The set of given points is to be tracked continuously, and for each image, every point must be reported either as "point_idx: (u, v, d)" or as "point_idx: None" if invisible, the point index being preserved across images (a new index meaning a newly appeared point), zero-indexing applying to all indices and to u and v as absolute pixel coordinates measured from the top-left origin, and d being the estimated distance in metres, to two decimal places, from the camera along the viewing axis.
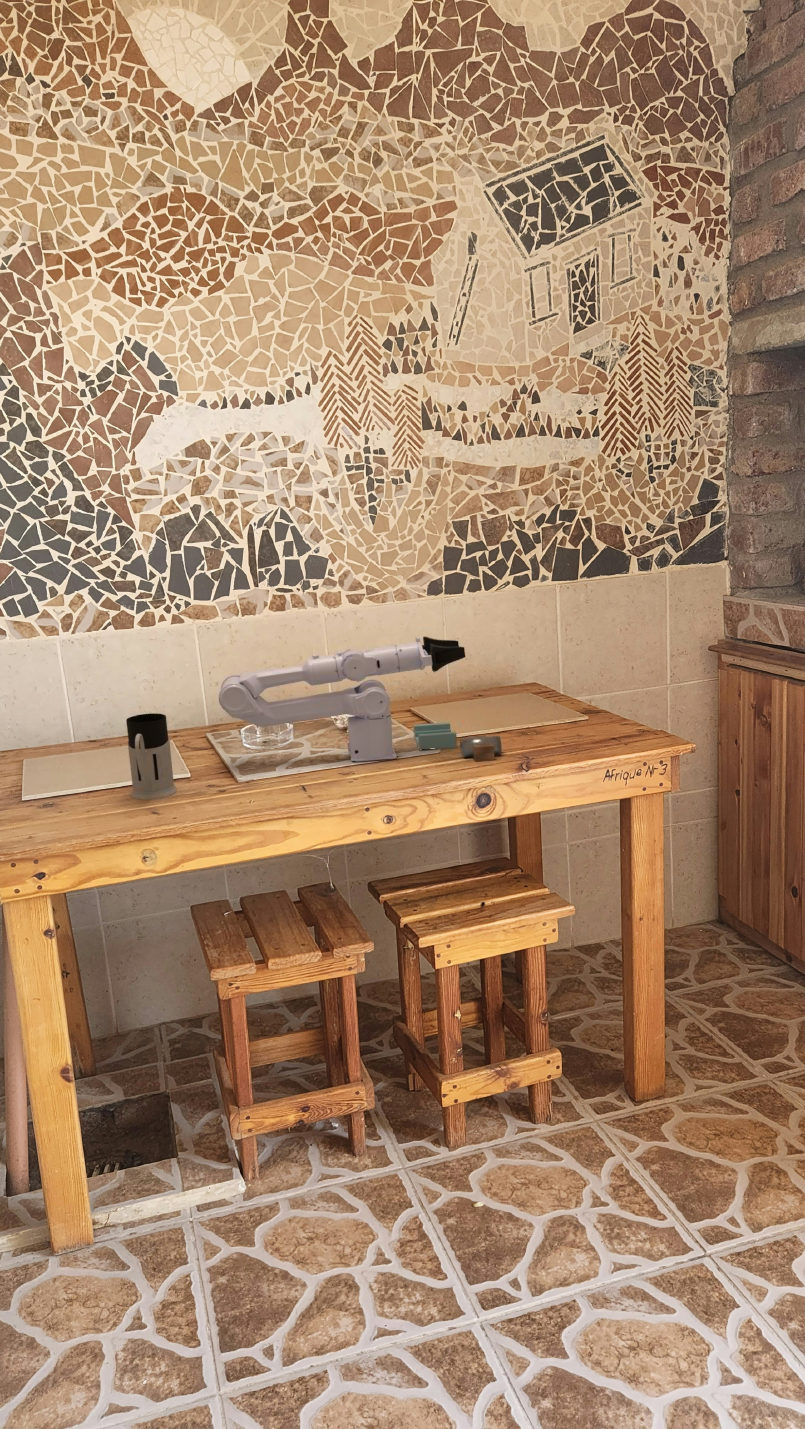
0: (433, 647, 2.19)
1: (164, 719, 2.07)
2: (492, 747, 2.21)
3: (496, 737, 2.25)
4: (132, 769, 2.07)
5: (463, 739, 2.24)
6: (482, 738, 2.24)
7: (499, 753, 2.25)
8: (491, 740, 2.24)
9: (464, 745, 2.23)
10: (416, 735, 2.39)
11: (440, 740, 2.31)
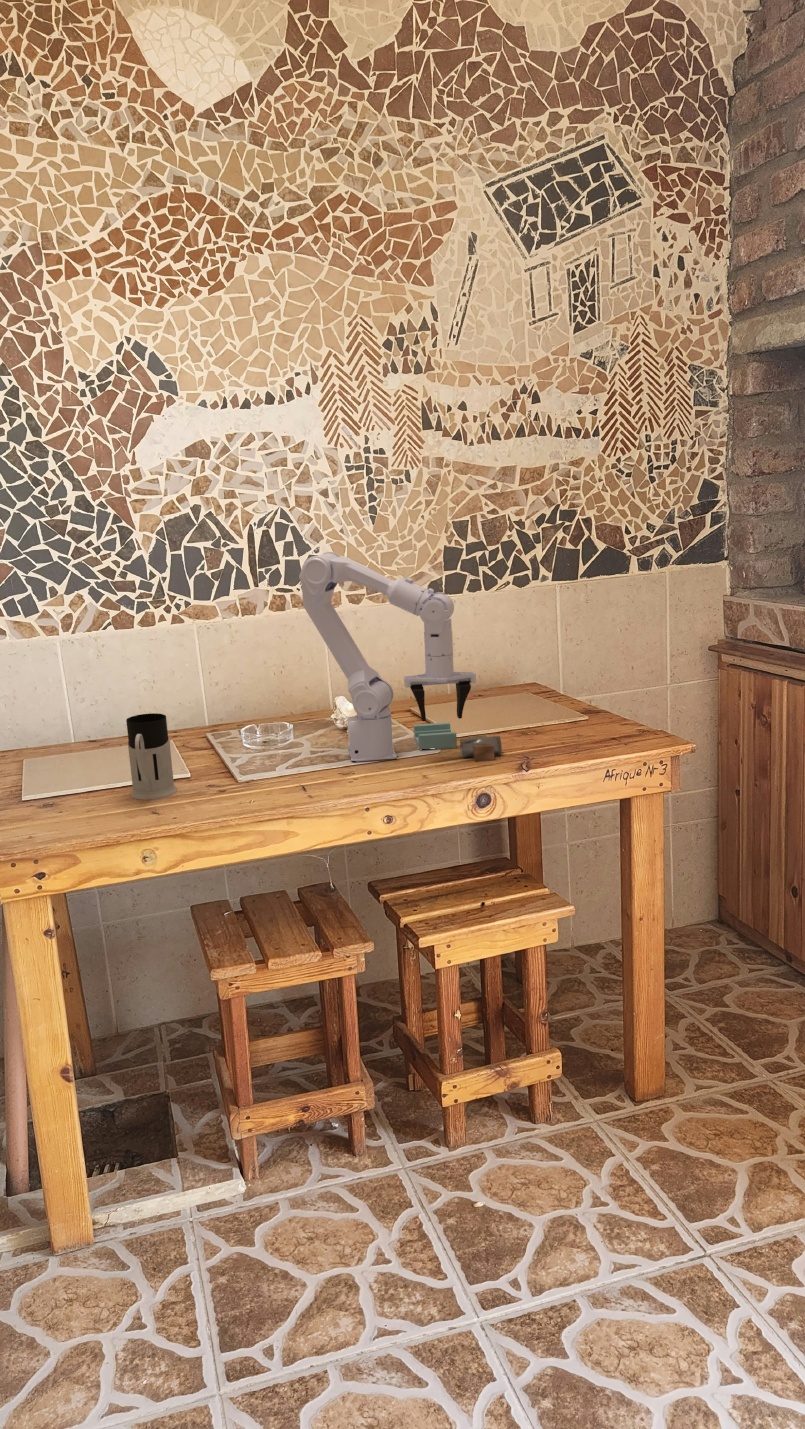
0: (413, 692, 2.19)
1: (164, 719, 2.07)
2: (492, 747, 2.21)
3: (496, 737, 2.25)
4: (132, 769, 2.07)
5: (463, 739, 2.24)
6: (482, 738, 2.24)
7: (499, 753, 2.25)
8: (491, 741, 2.24)
9: (464, 745, 2.23)
10: (416, 735, 2.39)
11: (440, 740, 2.31)
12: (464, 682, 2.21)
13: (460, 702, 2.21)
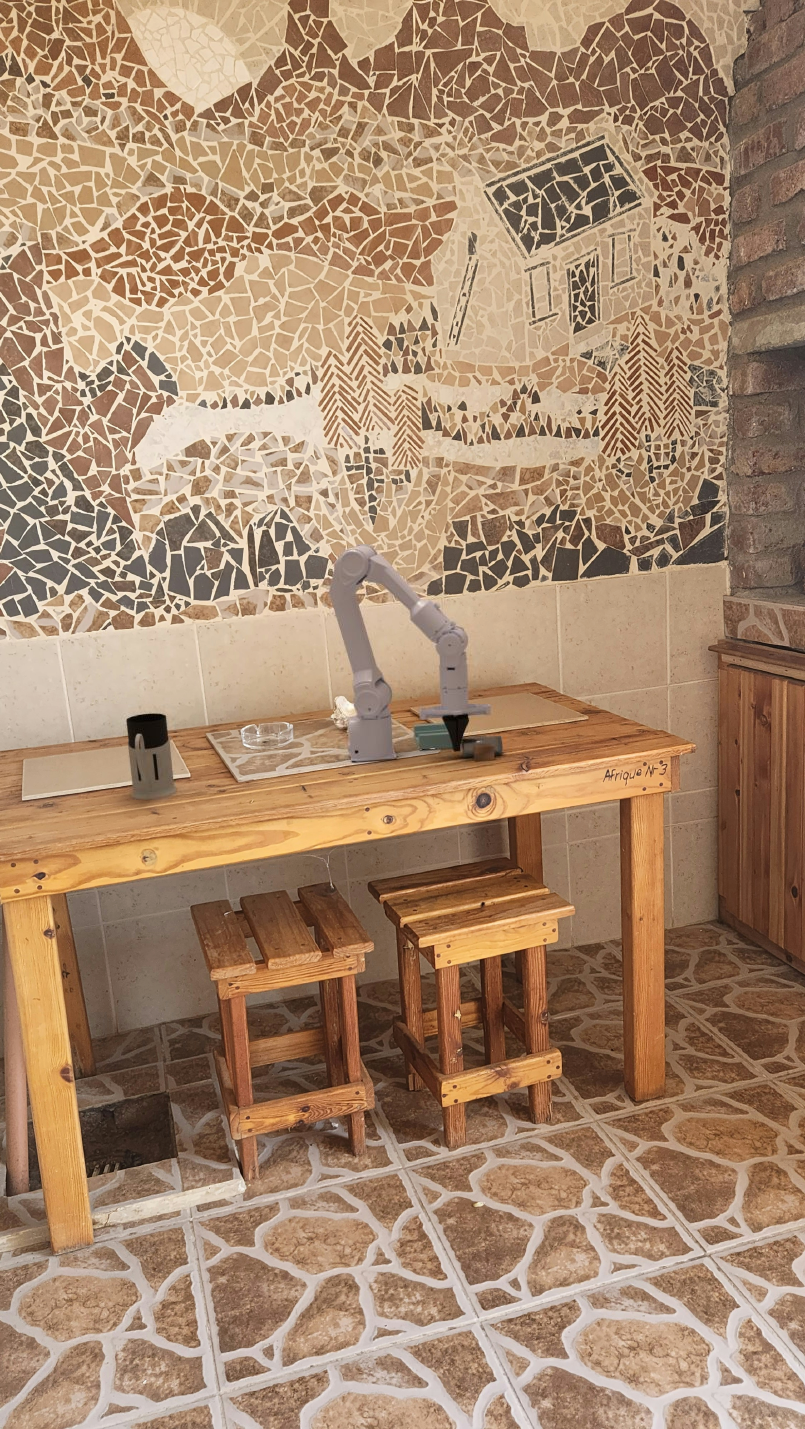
0: (445, 723, 2.21)
1: (164, 719, 2.07)
2: (492, 747, 2.21)
3: (497, 738, 2.24)
4: (132, 769, 2.07)
5: (464, 739, 2.24)
6: (483, 739, 2.24)
7: (500, 753, 2.25)
8: (492, 741, 2.24)
9: (465, 746, 2.23)
10: (416, 735, 2.39)
11: (440, 740, 2.31)
12: (479, 714, 2.23)
13: (458, 735, 2.23)
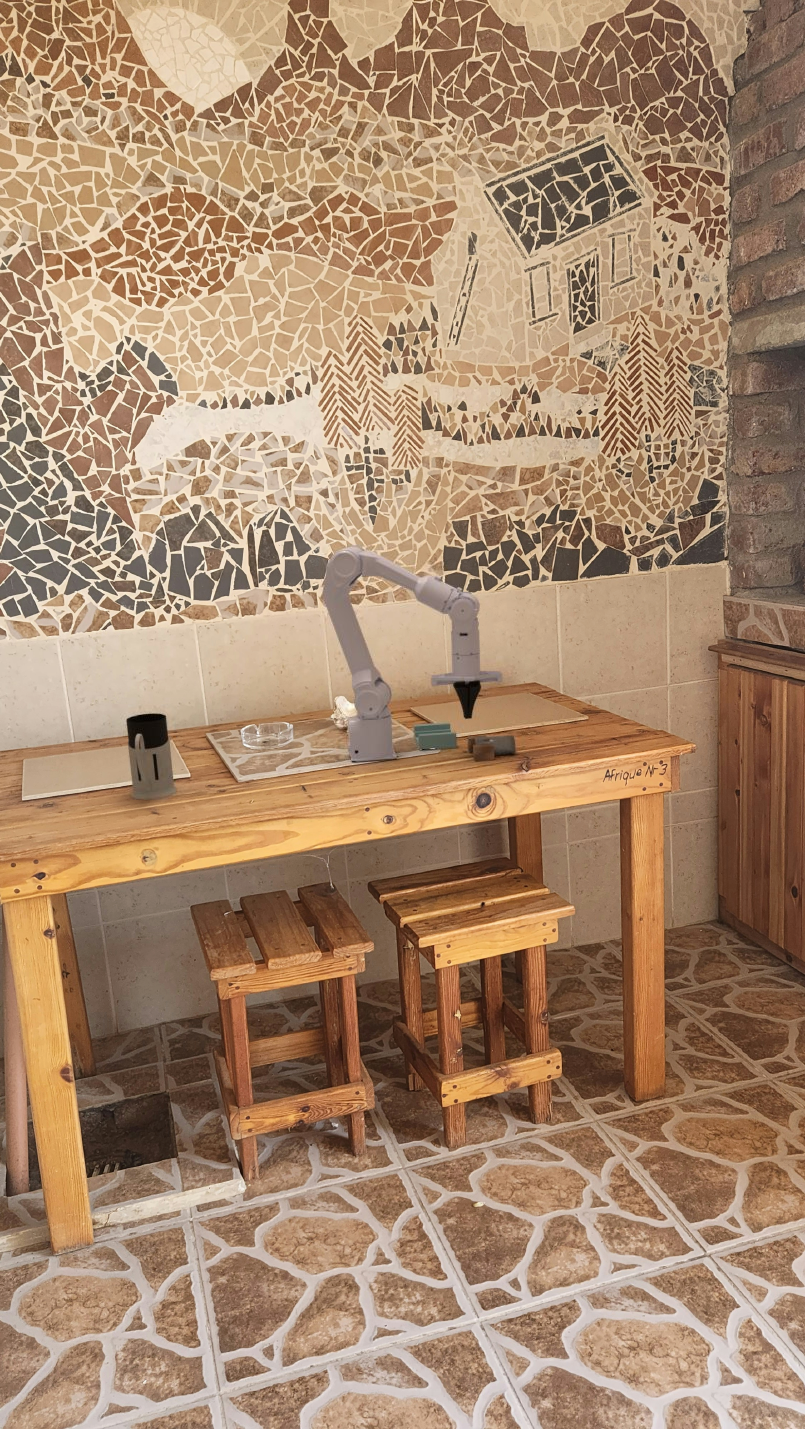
0: (456, 690, 2.20)
1: (164, 719, 2.07)
2: (492, 747, 2.21)
3: (510, 737, 2.25)
4: (132, 769, 2.07)
5: (477, 739, 2.24)
6: (496, 738, 2.24)
7: (513, 753, 2.25)
8: (505, 740, 2.24)
9: None
10: (416, 735, 2.39)
11: (440, 740, 2.31)
12: (491, 681, 2.22)
13: (470, 702, 2.21)
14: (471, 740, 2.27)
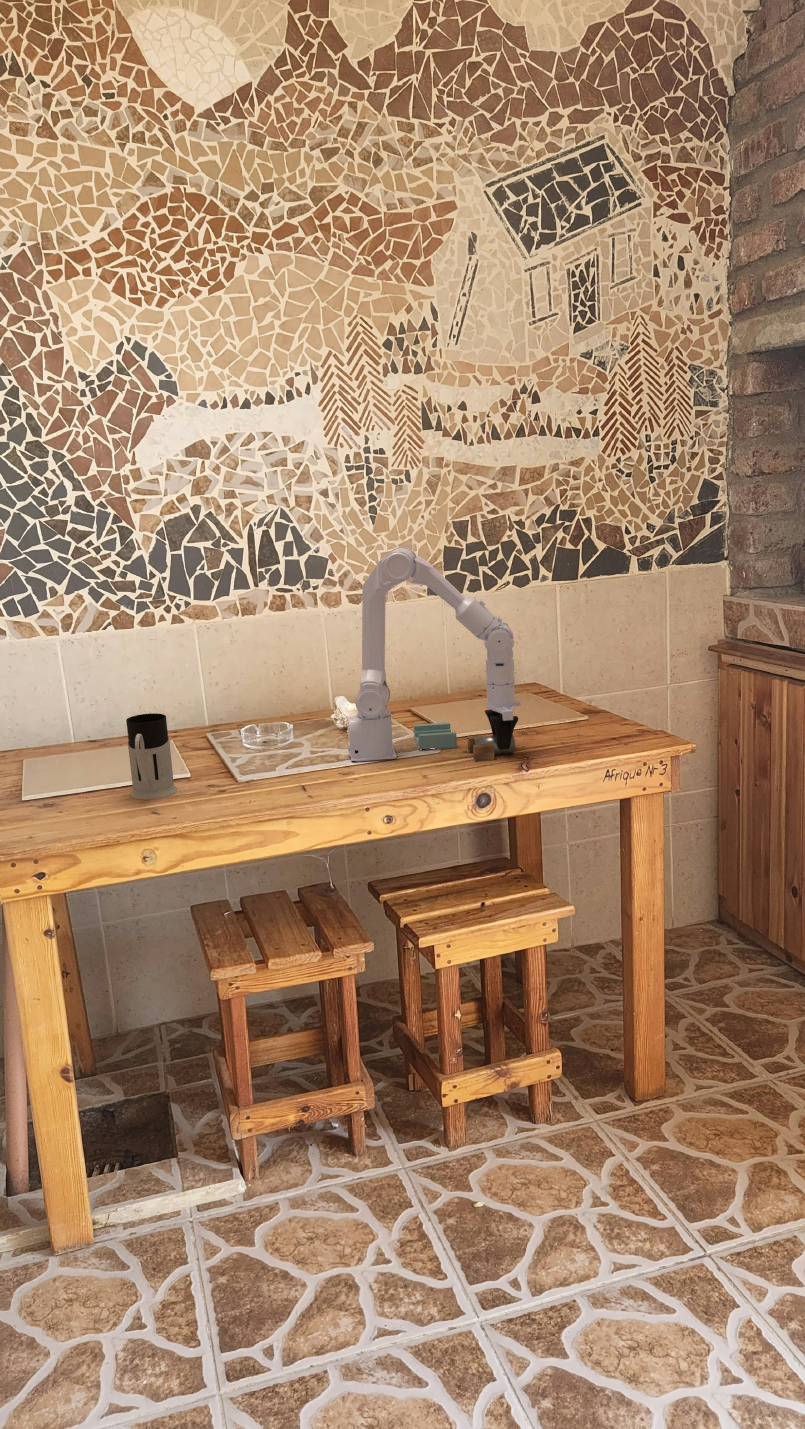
0: (516, 720, 2.20)
1: (164, 719, 2.07)
2: (492, 747, 2.21)
3: None
4: (132, 769, 2.07)
5: (477, 737, 2.24)
6: None
7: (512, 751, 2.25)
8: None
9: (478, 743, 2.23)
10: (416, 735, 2.39)
11: (440, 740, 2.31)
12: None
13: None
14: (471, 740, 2.27)
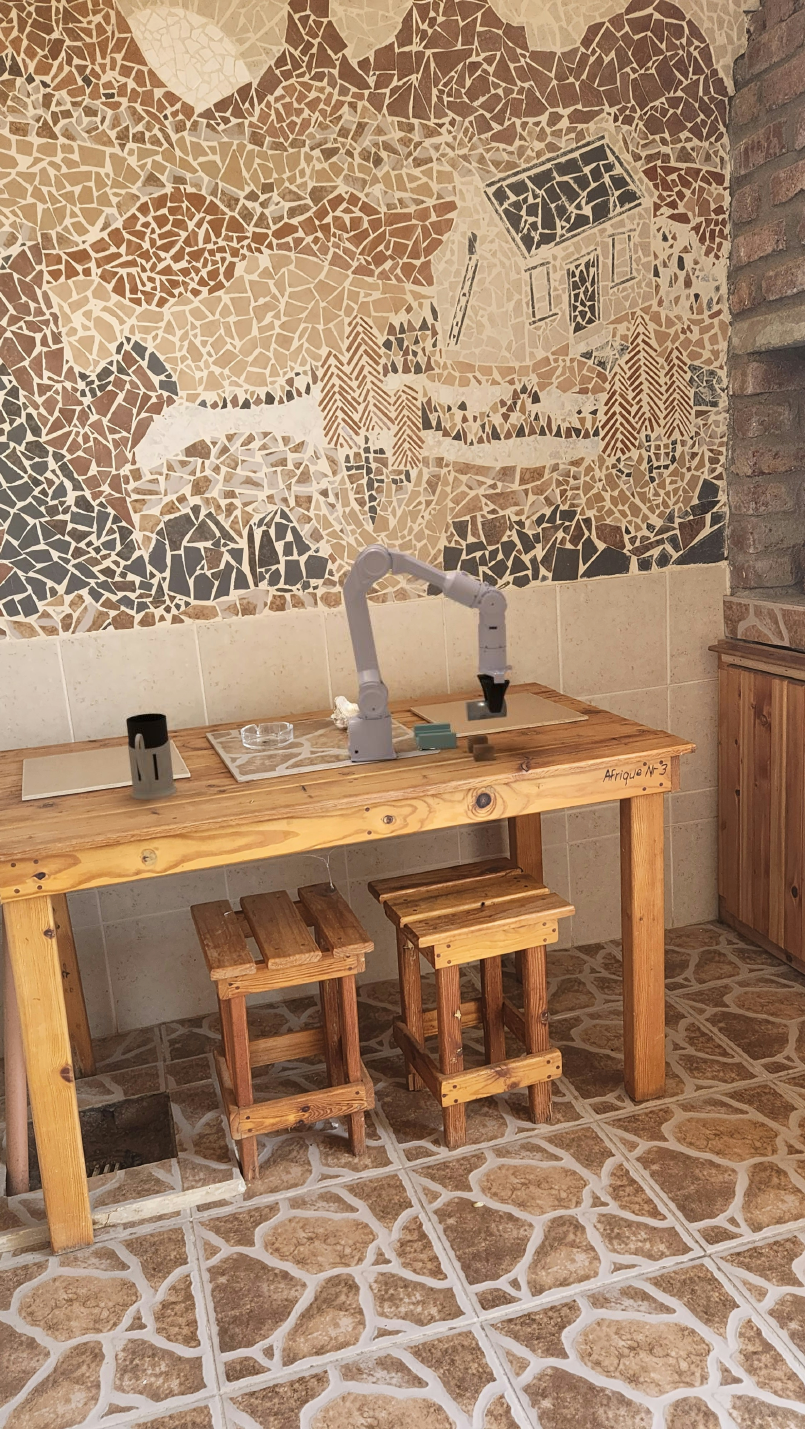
0: (508, 683, 2.21)
1: (164, 719, 2.07)
2: (492, 747, 2.21)
3: None
4: (132, 769, 2.07)
5: (468, 702, 2.25)
6: (487, 701, 2.26)
7: (505, 715, 2.26)
8: None
9: (469, 708, 2.24)
10: (416, 735, 2.39)
11: (440, 740, 2.31)
12: None
13: None
14: (471, 740, 2.27)
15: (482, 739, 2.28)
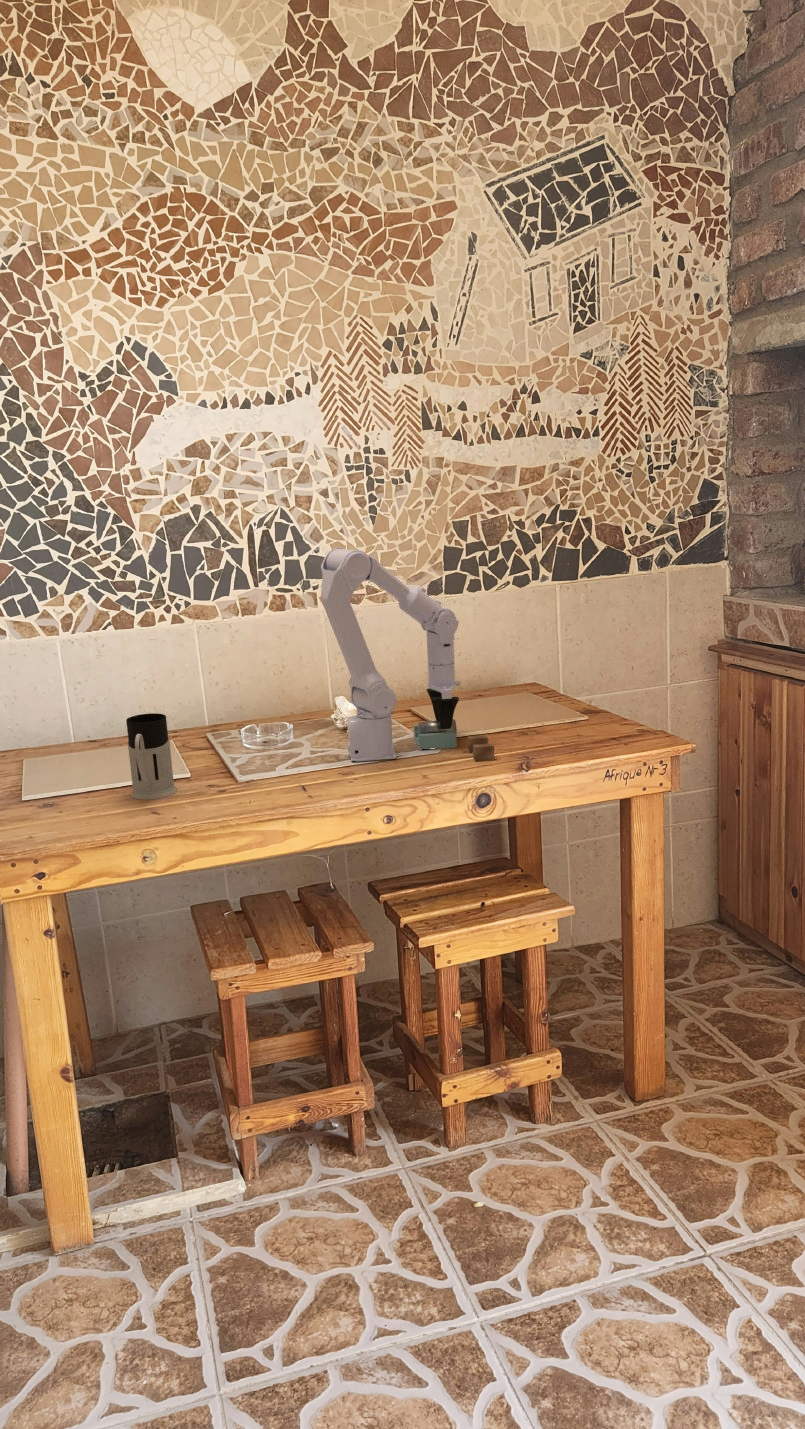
0: (457, 700, 2.29)
1: (164, 719, 2.07)
2: (492, 747, 2.21)
3: (452, 721, 2.35)
4: (132, 769, 2.07)
5: (420, 723, 2.35)
6: (438, 722, 2.35)
7: None
8: None
9: (421, 728, 2.34)
10: (416, 735, 2.39)
11: (440, 740, 2.31)
12: None
13: None
14: (471, 740, 2.27)
15: (482, 739, 2.28)
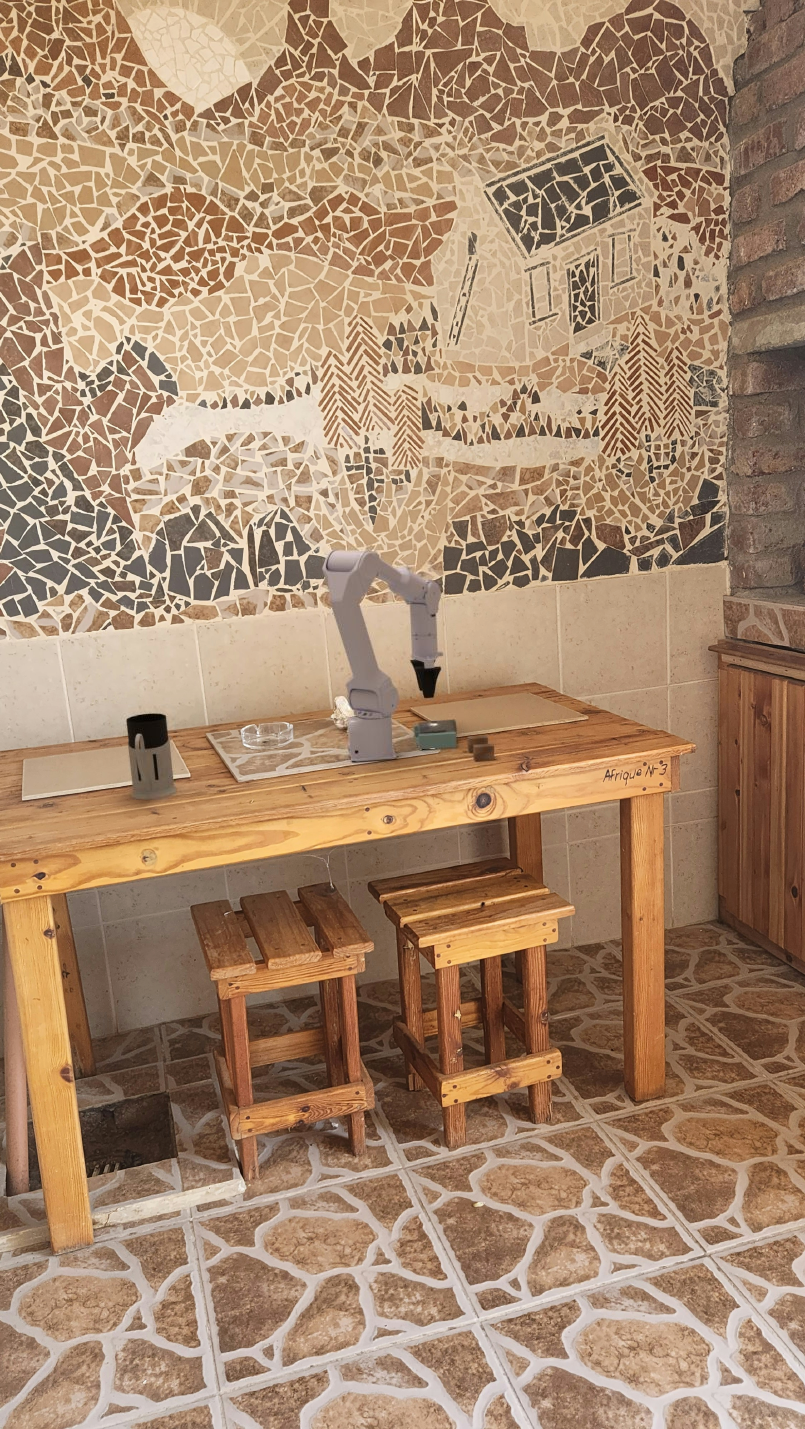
0: (439, 669, 2.35)
1: (164, 719, 2.07)
2: (492, 747, 2.21)
3: (452, 721, 2.35)
4: (132, 769, 2.07)
5: (420, 723, 2.35)
6: (438, 722, 2.35)
7: None
8: (447, 724, 2.35)
9: (421, 728, 2.34)
10: (416, 735, 2.39)
11: (440, 740, 2.31)
12: None
13: None
14: (471, 740, 2.27)
15: (482, 739, 2.28)
